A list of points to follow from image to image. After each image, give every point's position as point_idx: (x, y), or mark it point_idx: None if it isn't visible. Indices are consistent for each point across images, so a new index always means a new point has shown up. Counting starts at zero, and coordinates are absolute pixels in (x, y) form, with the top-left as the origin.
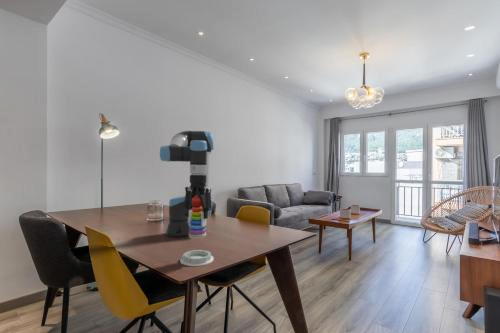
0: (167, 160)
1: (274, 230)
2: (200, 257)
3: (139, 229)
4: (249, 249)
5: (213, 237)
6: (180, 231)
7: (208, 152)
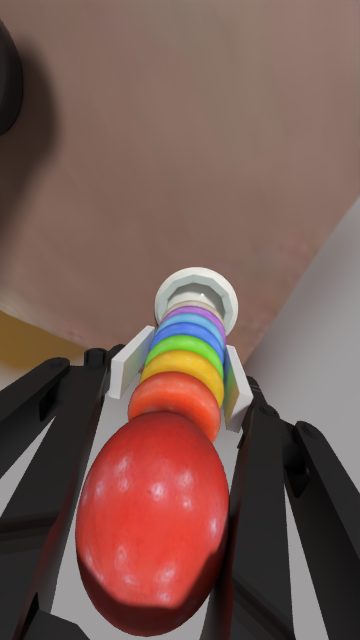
0: None
1: None
2: (199, 300)
3: None
4: (330, 145)
5: (125, 36)
6: None
7: None
